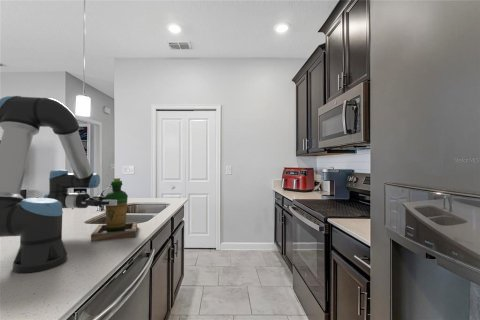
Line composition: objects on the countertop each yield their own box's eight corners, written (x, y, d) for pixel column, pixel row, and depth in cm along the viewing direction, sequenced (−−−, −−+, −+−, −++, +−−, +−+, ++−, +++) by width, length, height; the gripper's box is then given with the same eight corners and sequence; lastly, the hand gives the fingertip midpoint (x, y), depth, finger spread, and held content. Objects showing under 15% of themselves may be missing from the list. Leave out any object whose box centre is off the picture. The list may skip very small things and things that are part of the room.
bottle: (106, 237, 117) (107, 179, 117) (102, 232, 125) (103, 178, 125) (130, 233, 124) (130, 178, 124) (124, 228, 132) (125, 177, 132)
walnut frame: (135, 237, 119) (135, 231, 119) (90, 241, 112) (90, 234, 112) (137, 227, 137) (137, 221, 137) (98, 230, 130) (98, 224, 130)
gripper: (91, 203, 135) (130, 203, 137) (63, 213, 110) (111, 212, 112) (91, 190, 135) (130, 190, 137) (63, 196, 110) (111, 196, 112)
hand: (122, 200), depth 125 cm, fingers open, 13 cm apart
